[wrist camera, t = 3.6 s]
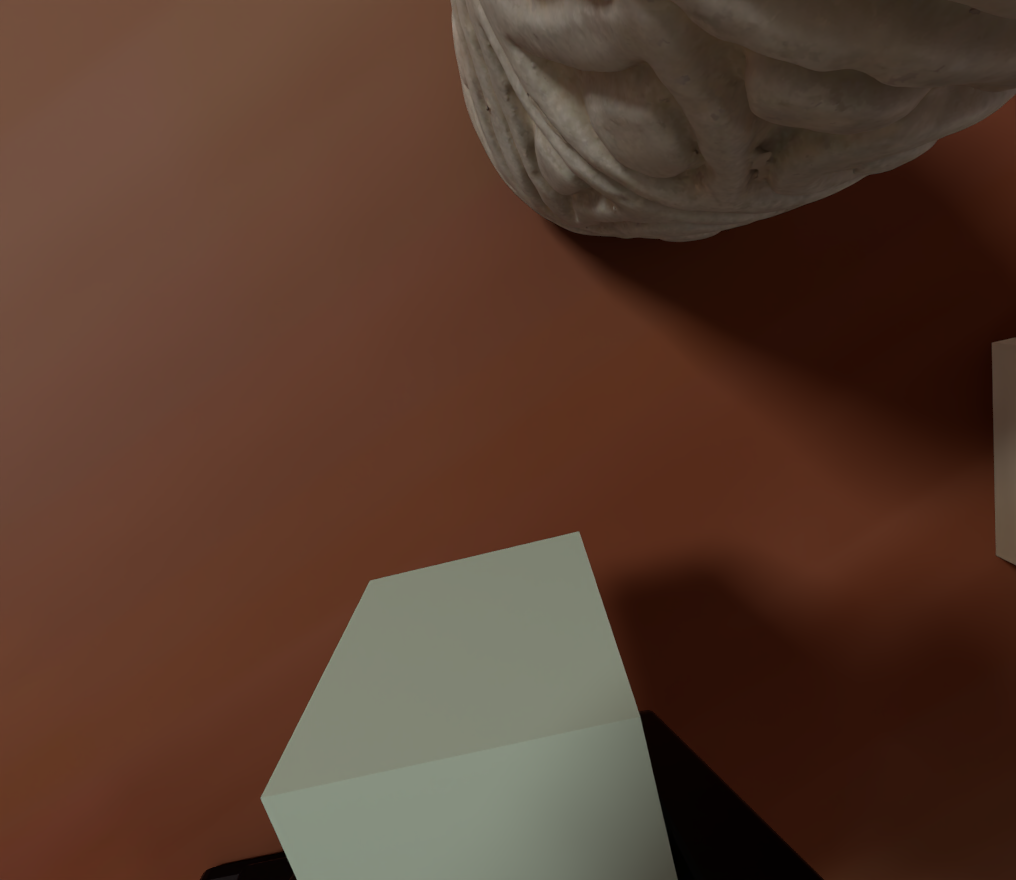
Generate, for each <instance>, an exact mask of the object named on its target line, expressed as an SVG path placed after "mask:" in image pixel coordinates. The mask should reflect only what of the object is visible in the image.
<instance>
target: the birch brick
mask: <svg viewBox="0 0 1016 880" xmlns="http://www.w3.org/2000/svg"><path fill="white" fill-rule="evenodd" d="M992 383H993V432H994V481H995V530H996V556H998V557H1000V558H1002V559H1004V560H1006V561H1008V562H1010V563H1012V564H1014V565H1016V337H1015V338H1011V339H1006V340H1002V341H997V342H993V343H992Z"/></svg>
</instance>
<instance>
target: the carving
mask: <svg viewBox="0 0 1016 880" xmlns="http://www.w3.org/2000/svg"><path fill="white" fill-rule="evenodd" d="M451 6H452V30H453V38H454V47H455V53H456V58H457V63H458V68H459V72H460V77H461V83H462V89H463V94H464V99H465V103H466V106H467V110H468V113H469V115H470V118H471V121H472V123H473V126H474V128H475V130H476V133H477V135H478V137H479V139H480V141H481V143H482V145H483V147H484V149H485V151H486V153H487V155H488V157H489V158H490V160H491V162H492V164H493V165H494V167H495V169H496V170H497V172H498V173H499V175H500V176H501V178H502V179H503V180H504V182H505V183H506V184H507V185H508V186H509V188H510V189H511V190H512V191H513V192H514V193H515V194H516V195H517V196H518V197H519V198H520V199H521V200H522V201H524V202H525V203H526V204H527V205H528V206H529V207H531V208H532V209H533V210H534V211H535V212H537V213H538V214H540V215H541V216H543V217H544V218H546V219H547V220H549V221H551V222H553V223H555V224H557V225H559V226H561V227H563V228H565V229H567V230H569V231H571V232H574V233H579V234H583V235H592V236H615V237H619V238H626V239H628V238H637V237H641V238H652V239H661V240H664V241H670V242H686V241H695V240H700V239H705V238H708V237H711V236H714V235H716V234H718V233H719V232H720V231H722V230H727V229H731V228H735V227H739V226H743V225H747V224H750V223H753V222H755V221H757V220H762V219H766V218H770V217H773V216H776V215H778V214H782V213H784V212H787V211H790V210H792V209H795V208H798V207H800V206H802V205H805V204H808V203H811V202H814V201H817V200H820V199H823V198H825V197H828V196H830V195H832V194H834V193H837V192H839V191H841V190H843V189H845V188H846V187H848V186H850V185H852V184H854V183H856V182H857V181H859V180H861V179H862V178H864V177H866V176H867V175H870V174H878V173H882V172H886V171H890V170H892V169H895V168H897V167H899V166H901V165H903V164H905V163H907V162H909V161H911V160H913V159H915V158H917V157H918V156H920V155H921V154H923V153H924V152H926V151H927V150H929V149H930V148H931V147H932V146H933V145H934V144H935V143H936V141H937V140H938V139H940V138H942V137H944V136H947V135H950V134H953V133H956V132H958V131H961V130H963V129H965V128H967V127H970V126H972V125H974V124H976V123H978V122H980V121H981V120H983V119H985V118H986V117H988V116H989V115H991V114H992V113H994V112H995V111H997V110H998V109H999V108H1000V107H1002V106H1003V105H1004V104H1005V103H1006V102H1007V101H1008V100H1009V99H1011V98H1012V97H1013V96H1014V95H1015V94H1016V0H451ZM728 231H729V230H728ZM726 232H727V231H726Z"/></svg>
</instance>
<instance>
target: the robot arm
mask: <svg viewBox="0 0 1016 880" xmlns="http://www.w3.org/2000/svg"><path fill="white" fill-rule="evenodd" d="M639 714H640V718H641V722H642V727H643V731H644V735H645V740H646V744H647V748H648V753H649V757H650V761H651V766H652V770H653V775H654V779H655V783H656V788H657V792H658V796H659V801H660V805H661V809H662V814H663V818H664V822H665V827H666V831H667V836H668V840H669V844H670V849H671V853H672V857H673V862H674V866H675V870H676V875H677V879H678V880H824V879H823V878H822V877H821V876H820V875H819V874H818V873H817V872H816V871H814V870H813V869H812V868H811V867H810V866H809V865H808V864H807V863H806V862H805V861H804V860H803V859H802V858H801V857H800V856H799V855H798V854H797V853H796V852H795V851H794V850H793V849H792V848H791V847H790V846H789V845H788V844H787V843H786V842H785V841H784V840H783V839H782V838H781V837H780V836H779V835H778V834H777V833H776V832H775V831H774V830H773V829H772V828H771V827H770V826H769V825H768V824H767V823H766V822H765V821H764V820H763V819H762V818H761V817H760V816H759V815H758V814H756V813H755V812H754V811H753V810H752V809H751V808H750V807H749V806H748V805H747V804H746V803H745V802H744V801H743V800H742V799H741V798H740V797H739V796H738V795H737V794H736V793H735V792H734V791H733V790H732V789H731V788H730V787H729V786H728V785H727V784H726V783H725V782H724V781H723V780H722V779H721V778H720V777H719V776H718V775H717V774H716V773H715V772H714V771H713V770H712V769H711V768H710V767H709V766H708V765H707V764H706V763H705V762H704V761H703V760H702V759H701V758H700V757H698V756H697V755H696V754H695V753H694V752H693V751H692V750H691V749H690V748H689V747H688V746H687V745H686V744H685V743H684V742H683V741H682V740H681V739H680V738H679V737H678V736H677V735H676V734H675V733H674V732H673V731H672V730H671V729H670V728H669V727H668V726H667V725H666V724H665V723H664V722H663V721H662V720H661V719H660V718H659V717H658V716H657V715H656V714H655V713H653V712H652V711H650V710H645V711H640V712H639ZM200 880H297V879H296V876H295V874H294V872H293V870H292V867H291V865H290V863H289V861H288V859H287V856H286V854H285V853H282V854H277V855H272V856H267V857H262V858H257V859H252V860H248V861H243V862H238V863H233V864H228V865H223V866H218V867H213V868H210V869H208V870H206V871H205V872H204V873H203V875H202V877H201V879H200Z"/></svg>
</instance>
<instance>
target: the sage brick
mask: <svg viewBox="0 0 1016 880" xmlns="http://www.w3.org/2000/svg"><path fill="white" fill-rule="evenodd" d="M261 800H262V803H263V805H264V807H265V809H266V812H267V814H268V816H269V818H270V821H271V823H272V825H273V827H274V829H275V832H276V834H277V836H278V838H279V841H280V843H281V845H282V847H283V850H284V852H285V854H286V856H287V859H288V861H289V863H290V865H291V867H292V870H293V872H294V874H295V876H296V879H297V880H678V879H677V875H676V870H675V866H674V862H673V857H672V853H671V849H670V844H669V840H668V836H667V831H666V827H665V822H664V818H663V814H662V809H661V805H660V801H659V796H658V792H657V788H656V783H655V779H654V775H653V770H652V766H651V761H650V757H649V753H648V748H647V744H646V740H645V735H644V731H643V727H642V722H641V718H640V714H639V711H638V708H637V705H636V702H635V699H634V696H633V693H632V690H631V687H630V684H629V681H628V678H627V675H626V672H625V669H624V666H623V663H622V660H621V657H620V654H619V651H618V648H617V645H616V642H615V639H614V636H613V633H612V630H611V627H610V624H609V621H608V618H607V615H606V611H605V608H604V605H603V602H602V599H601V596H600V593H599V590H598V587H597V584H596V581H595V578H594V575H593V572H592V569H591V566H590V563H589V560H588V557H587V554H586V551H585V548H584V545H583V542H582V539H581V536H580V533H579V532H575V533H570V534H566V535H562V536H558V537H553V538H549V539H545V540H541V541H536V542H532V543H528V544H524V545H519V546H515V547H511V548H507V549H502V550H498V551H494V552H490V553H486V554H481V555H477V556H473V557H469V558H464V559H460V560H456V561H452V562H447V563H443V564H439V565H435V566H430V567H426V568H422V569H418V570H413V571H409V572H405V573H401V574H396V575H392V576H388V577H384V578H379V579H375V580H371V581H370V582H369V584H368V586H367V588H366V590H365V592H364V594H363V596H362V598H361V600H360V602H359V604H358V606H357V608H356V610H355V612H354V614H353V615H352V617H351V619H350V621H349V623H348V625H347V627H346V629H345V631H344V633H343V635H342V637H341V639H340V641H339V643H338V645H337V647H336V649H335V651H334V653H333V655H332V657H331V659H330V661H329V663H328V665H327V667H326V669H325V671H324V673H323V675H322V677H321V679H320V681H319V683H318V685H317V687H316V689H315V691H314V693H313V695H312V697H311V699H310V701H309V703H308V705H307V707H306V709H305V711H304V713H303V715H302V717H301V719H300V721H299V723H298V725H297V727H296V729H295V731H294V733H293V735H292V737H291V739H290V741H289V743H288V745H287V747H286V749H285V751H284V753H283V754H282V756H281V758H280V760H279V762H278V764H277V766H276V768H275V770H274V772H273V774H272V776H271V778H270V780H269V782H268V784H267V786H266V788H265V790H264V792H263V794H262V796H261Z"/></svg>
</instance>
